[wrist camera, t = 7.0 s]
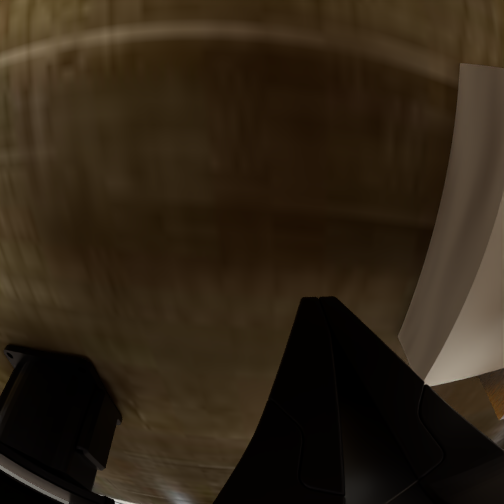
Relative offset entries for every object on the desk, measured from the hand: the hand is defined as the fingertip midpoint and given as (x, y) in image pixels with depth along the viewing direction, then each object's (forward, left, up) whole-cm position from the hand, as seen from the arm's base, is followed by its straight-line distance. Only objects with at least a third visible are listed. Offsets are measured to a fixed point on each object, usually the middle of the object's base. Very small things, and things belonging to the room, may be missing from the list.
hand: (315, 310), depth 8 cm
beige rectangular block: (+9, +1, -4) cm, 10 cm away
